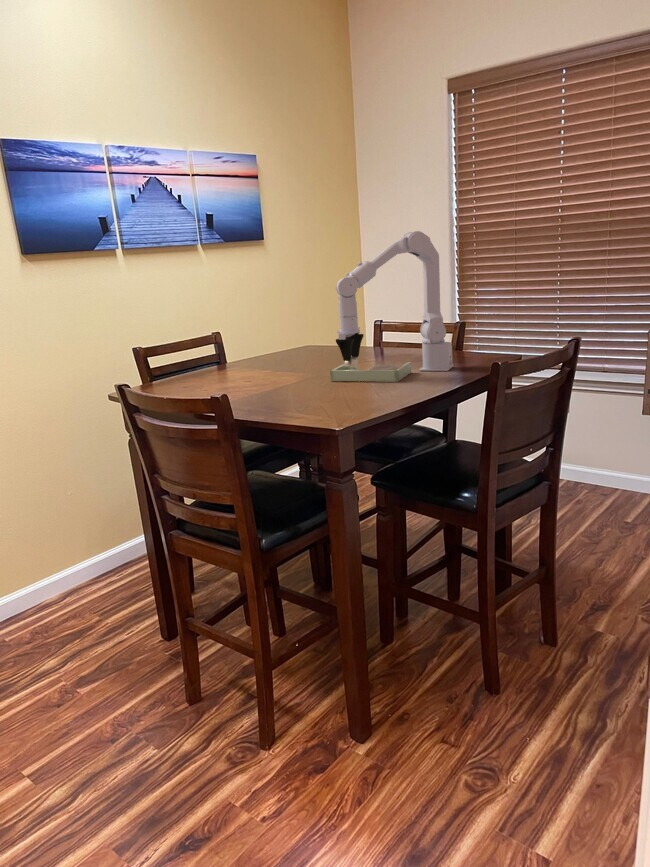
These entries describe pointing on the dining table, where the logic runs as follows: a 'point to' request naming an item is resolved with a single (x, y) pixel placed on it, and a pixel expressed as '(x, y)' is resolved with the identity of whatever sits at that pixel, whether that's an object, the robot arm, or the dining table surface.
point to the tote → (370, 374)
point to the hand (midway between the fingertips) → (351, 358)
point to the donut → (383, 367)
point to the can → (351, 364)
